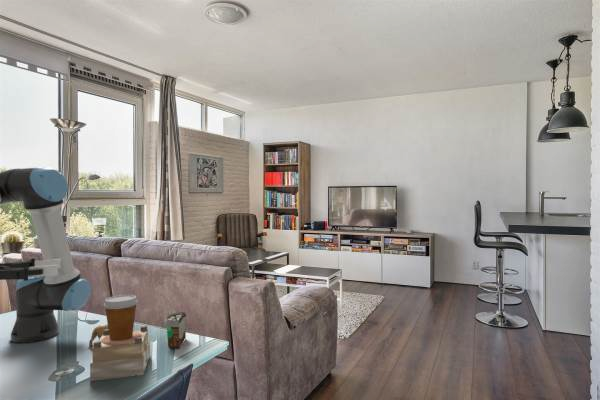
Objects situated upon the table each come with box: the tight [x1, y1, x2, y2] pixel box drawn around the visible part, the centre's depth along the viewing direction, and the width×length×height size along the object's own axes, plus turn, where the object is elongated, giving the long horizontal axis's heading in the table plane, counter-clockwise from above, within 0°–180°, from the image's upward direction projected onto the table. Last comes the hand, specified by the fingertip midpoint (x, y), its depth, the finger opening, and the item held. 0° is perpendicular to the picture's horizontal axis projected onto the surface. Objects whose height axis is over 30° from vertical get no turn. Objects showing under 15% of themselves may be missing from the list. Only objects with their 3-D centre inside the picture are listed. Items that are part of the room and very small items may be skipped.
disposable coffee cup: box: [103, 294, 138, 341], centre depth 114 cm, size 10×10×12 cm
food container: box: [163, 310, 187, 350], centre depth 133 cm, size 12×6×10 cm, turn 5°
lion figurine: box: [88, 323, 108, 349], centre depth 135 cm, size 15×5×9 cm, turn 167°
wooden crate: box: [89, 325, 151, 382], centre depth 114 cm, size 14×14×10 cm
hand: (59, 266), depth 109 cm, fingers open, 13 cm apart
